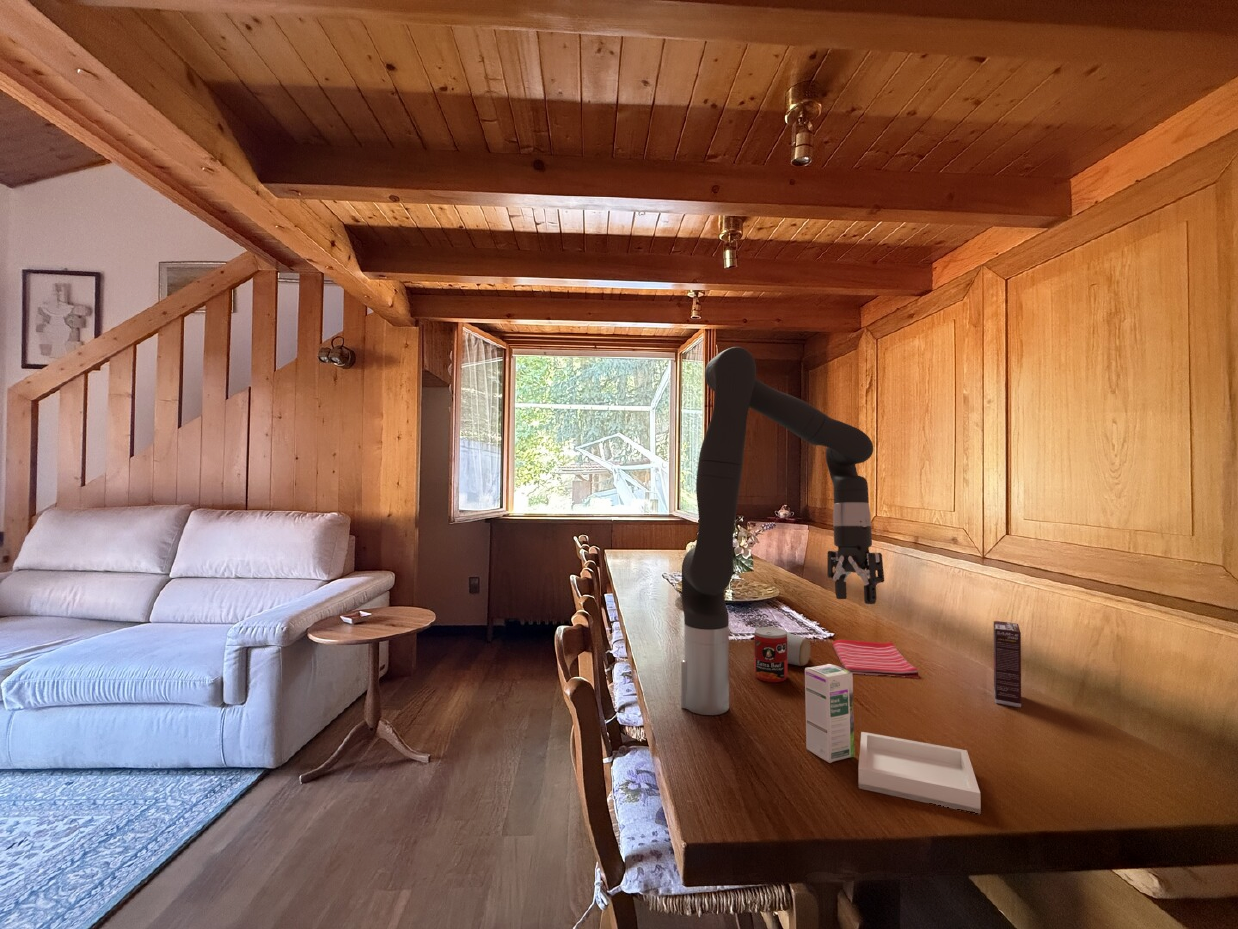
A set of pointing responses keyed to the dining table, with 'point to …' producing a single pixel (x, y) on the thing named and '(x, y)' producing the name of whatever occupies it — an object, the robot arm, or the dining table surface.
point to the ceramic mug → (797, 650)
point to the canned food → (770, 654)
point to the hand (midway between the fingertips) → (855, 601)
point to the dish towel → (873, 658)
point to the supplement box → (1007, 663)
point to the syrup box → (829, 712)
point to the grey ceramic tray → (918, 772)
